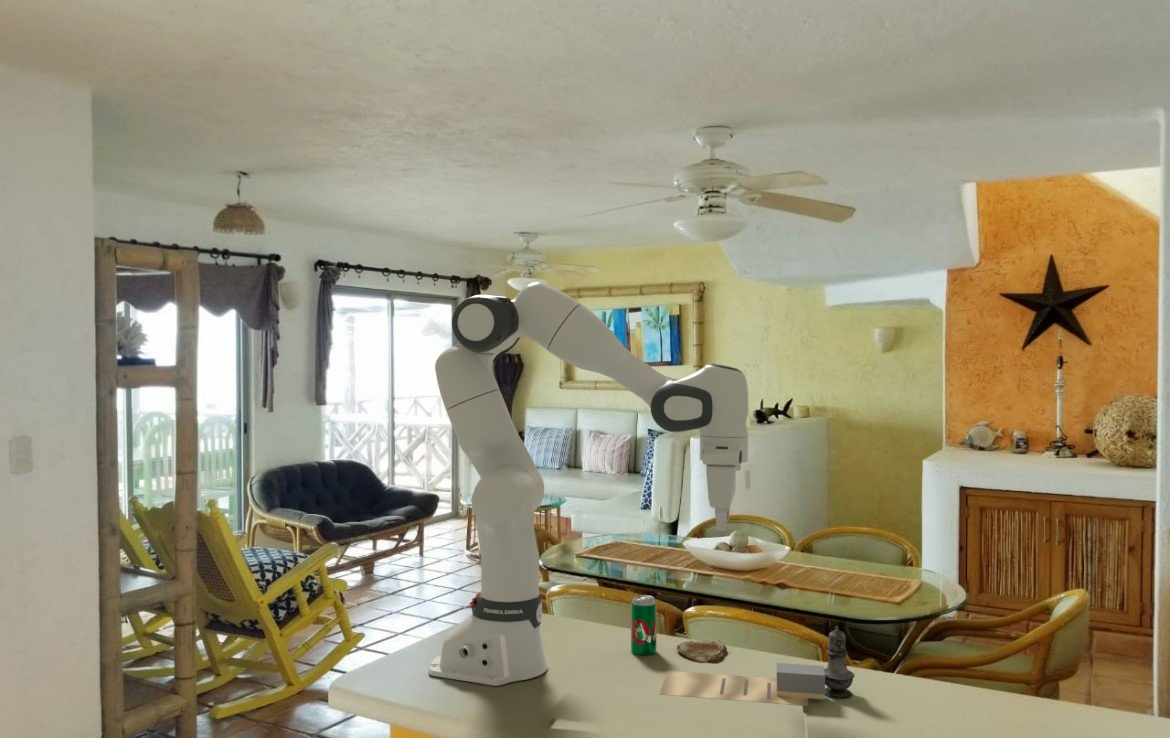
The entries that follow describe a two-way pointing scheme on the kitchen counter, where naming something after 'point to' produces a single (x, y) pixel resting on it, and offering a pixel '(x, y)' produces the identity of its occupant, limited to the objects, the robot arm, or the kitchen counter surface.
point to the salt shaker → (837, 668)
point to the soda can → (643, 625)
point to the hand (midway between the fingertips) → (722, 525)
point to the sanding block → (800, 680)
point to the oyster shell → (703, 651)
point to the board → (727, 688)
